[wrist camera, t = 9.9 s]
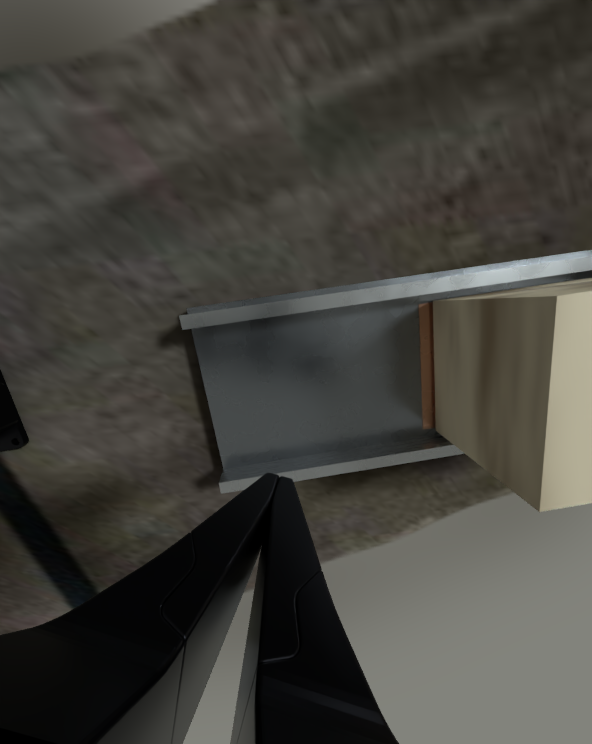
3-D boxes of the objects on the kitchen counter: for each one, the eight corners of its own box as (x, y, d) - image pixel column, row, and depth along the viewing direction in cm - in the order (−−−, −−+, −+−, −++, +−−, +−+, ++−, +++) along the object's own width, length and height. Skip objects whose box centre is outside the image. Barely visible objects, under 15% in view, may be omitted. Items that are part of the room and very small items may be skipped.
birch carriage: (435, 430, 20) (539, 511, 12) (432, 300, 17) (557, 295, 10) (570, 408, 20) (759, 474, 12) (584, 278, 18) (823, 256, 10)
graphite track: (229, 475, 21) (218, 514, 17) (191, 308, 18) (167, 308, 14) (597, 415, 22) (667, 439, 18) (618, 246, 19) (708, 230, 15)
